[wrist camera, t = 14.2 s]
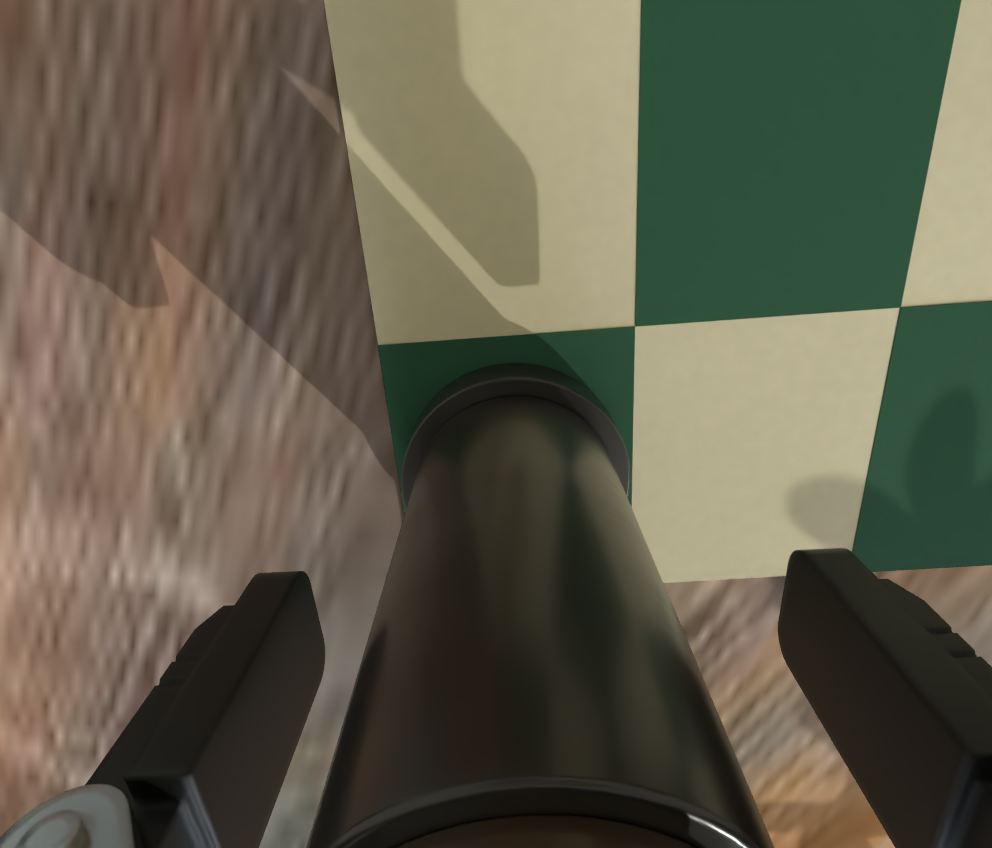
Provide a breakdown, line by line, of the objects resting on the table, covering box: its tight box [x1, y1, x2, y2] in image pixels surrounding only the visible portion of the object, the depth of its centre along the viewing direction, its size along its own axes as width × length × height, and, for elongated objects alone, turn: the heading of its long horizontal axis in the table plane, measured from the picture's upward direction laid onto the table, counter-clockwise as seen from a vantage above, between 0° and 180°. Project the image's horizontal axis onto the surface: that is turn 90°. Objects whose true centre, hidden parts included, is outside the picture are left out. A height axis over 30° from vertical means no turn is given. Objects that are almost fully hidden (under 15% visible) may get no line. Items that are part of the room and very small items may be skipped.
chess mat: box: [324, 0, 992, 583], centre depth 11 cm, size 24×22×1 cm
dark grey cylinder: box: [307, 363, 774, 848], centre depth 10 cm, size 5×5×10 cm
